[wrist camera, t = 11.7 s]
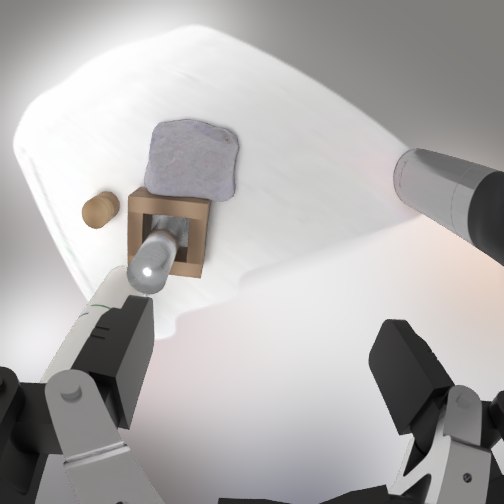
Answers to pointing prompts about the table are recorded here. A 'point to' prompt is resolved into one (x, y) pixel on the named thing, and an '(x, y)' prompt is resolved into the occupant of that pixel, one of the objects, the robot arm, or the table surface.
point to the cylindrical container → (92, 318)
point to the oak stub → (100, 210)
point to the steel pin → (156, 255)
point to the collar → (186, 207)
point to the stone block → (191, 161)
